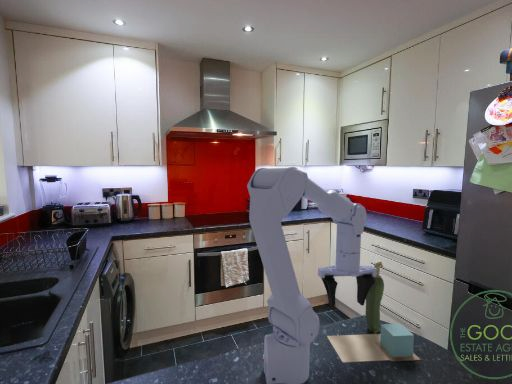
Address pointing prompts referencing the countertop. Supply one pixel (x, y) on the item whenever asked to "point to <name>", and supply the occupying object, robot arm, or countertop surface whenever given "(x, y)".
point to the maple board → (363, 348)
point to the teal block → (397, 340)
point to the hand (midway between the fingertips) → (346, 304)
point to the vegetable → (374, 301)
